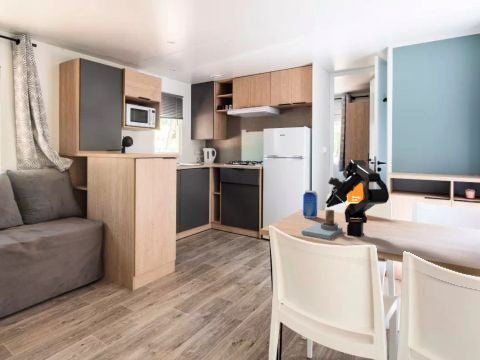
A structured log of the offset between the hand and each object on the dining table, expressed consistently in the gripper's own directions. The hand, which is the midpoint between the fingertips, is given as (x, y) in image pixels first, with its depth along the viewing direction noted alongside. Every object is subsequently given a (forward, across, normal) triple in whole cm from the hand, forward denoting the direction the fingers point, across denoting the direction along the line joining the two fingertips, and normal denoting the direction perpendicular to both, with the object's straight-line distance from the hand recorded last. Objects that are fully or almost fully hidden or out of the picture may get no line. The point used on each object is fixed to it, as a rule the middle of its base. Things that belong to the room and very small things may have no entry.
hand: (326, 205), depth 150 cm
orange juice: (-4, -45, +23) cm, 50 cm away
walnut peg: (+7, 0, +9) cm, 12 cm away
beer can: (+16, -32, +4) cm, 36 cm away
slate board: (+11, +2, +8) cm, 14 cm away
